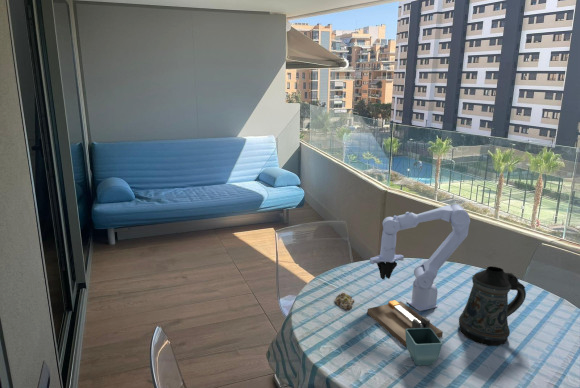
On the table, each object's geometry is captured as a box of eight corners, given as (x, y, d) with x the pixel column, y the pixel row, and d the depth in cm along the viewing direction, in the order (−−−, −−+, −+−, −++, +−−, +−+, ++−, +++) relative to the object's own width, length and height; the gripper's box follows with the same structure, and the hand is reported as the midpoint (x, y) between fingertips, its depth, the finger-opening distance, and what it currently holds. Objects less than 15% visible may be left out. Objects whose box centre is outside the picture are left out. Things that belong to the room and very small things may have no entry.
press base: (400, 305, 159) (402, 290, 158) (442, 336, 139) (444, 319, 137) (367, 313, 153) (368, 297, 152) (405, 346, 133) (407, 328, 131)
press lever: (394, 304, 152) (394, 300, 152) (425, 329, 137) (426, 324, 136) (387, 305, 151) (388, 301, 151) (418, 331, 136) (419, 326, 135)
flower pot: (402, 352, 130) (404, 328, 128) (428, 351, 131) (430, 327, 128) (412, 370, 121) (415, 344, 119) (440, 369, 122) (443, 343, 120)
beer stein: (447, 325, 146) (455, 263, 140) (485, 315, 153) (494, 255, 147) (485, 351, 131) (495, 282, 125) (525, 338, 138) (536, 273, 133)
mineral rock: (331, 293, 165) (349, 287, 165) (333, 301, 166) (351, 296, 166) (337, 307, 154) (356, 301, 155) (339, 316, 156) (358, 310, 156)
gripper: (377, 252, 151) (374, 284, 154) (409, 248, 156) (405, 280, 159) (368, 245, 158) (365, 276, 161) (399, 242, 162) (395, 272, 165)
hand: (385, 278), depth 160 cm, fingers closed
